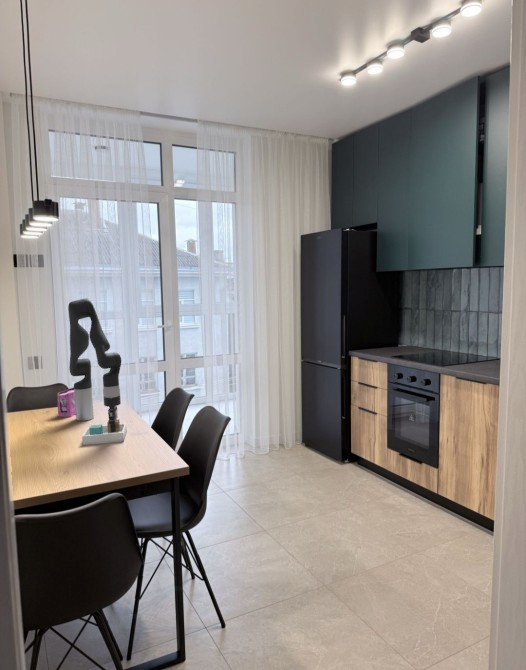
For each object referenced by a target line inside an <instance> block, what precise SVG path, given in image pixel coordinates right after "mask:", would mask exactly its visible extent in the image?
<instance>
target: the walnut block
mask: <svg viewBox="0 0 526 670" xmlns="http://www.w3.org/2000/svg"><path fill="white" fill-rule="evenodd" d="M112 421H113V420H111V422H112ZM115 421H116V424H115V425H116V432H111V426H110V424H109V419H108V420H107V422H106V423H107V424H106V425H107V427H108V433H117V432H119V431H120V424H121V421H120V419H119V418H117V420H115Z"/></svg>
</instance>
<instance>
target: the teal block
mask: <svg viewBox="0 0 526 670" xmlns="http://www.w3.org/2000/svg"><path fill="white" fill-rule="evenodd" d="M102 426H103V424H91V425H90V426H89V427H90V435H98V434H103V428H102Z"/></svg>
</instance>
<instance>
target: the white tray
mask: <svg viewBox="0 0 526 670" xmlns="http://www.w3.org/2000/svg"><path fill="white" fill-rule="evenodd" d="M90 427H91V426H87V428H86V429H85V430H84V433H83V434H82V436H81V439H82V440H81V441H82V445H83V446H87V445H88V446H89V445H97V444H98V445H99V444H108V443H118V442H124V441H125V439H126V435H127V432H128V430H127V428H128V427H127V423H120V431H119V432H117V433H108V427H107V424H106V425H103V424H102V428H103V434H98V435H90Z"/></svg>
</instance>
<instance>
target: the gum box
mask: <svg viewBox="0 0 526 670" xmlns="http://www.w3.org/2000/svg"><path fill="white" fill-rule="evenodd" d="M57 416H58V418H59V417H61V418H63V417H65V418H67V417H69V418H71V417H74V416H76V411H75V397H74V386H73V387H71V388H68V389H65V390H61V391H59V392H57Z"/></svg>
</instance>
